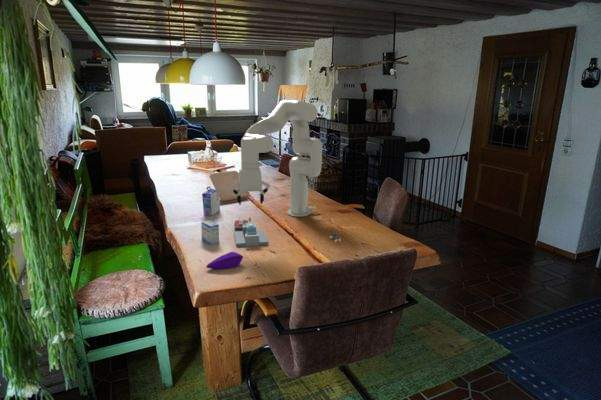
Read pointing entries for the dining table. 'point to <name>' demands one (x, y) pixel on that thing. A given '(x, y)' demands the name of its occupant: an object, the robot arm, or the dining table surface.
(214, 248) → the dining table surface
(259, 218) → the dining table surface
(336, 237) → the car cutout
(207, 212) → the ink cartridge box
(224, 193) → the case
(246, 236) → the block
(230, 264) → the purple tapered spindle
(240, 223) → the walkie-talkie
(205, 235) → the medicine box
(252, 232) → the block
